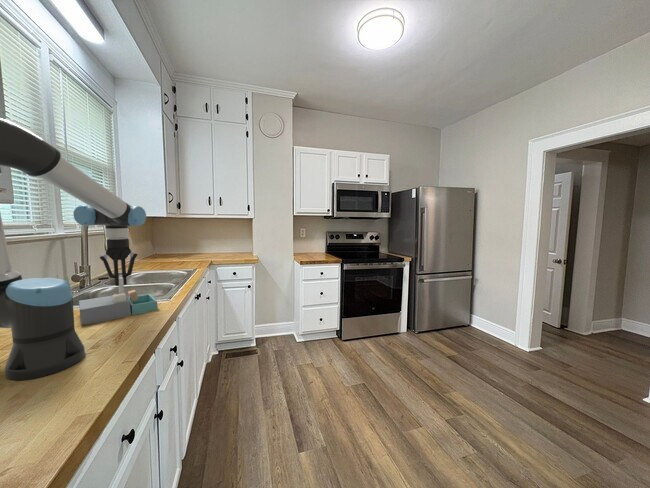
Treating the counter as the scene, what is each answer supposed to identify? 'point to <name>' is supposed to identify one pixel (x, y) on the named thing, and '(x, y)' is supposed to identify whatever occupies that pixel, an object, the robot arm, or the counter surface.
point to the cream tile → (119, 297)
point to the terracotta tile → (133, 295)
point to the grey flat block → (102, 309)
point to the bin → (143, 304)
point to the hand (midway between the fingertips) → (121, 292)
